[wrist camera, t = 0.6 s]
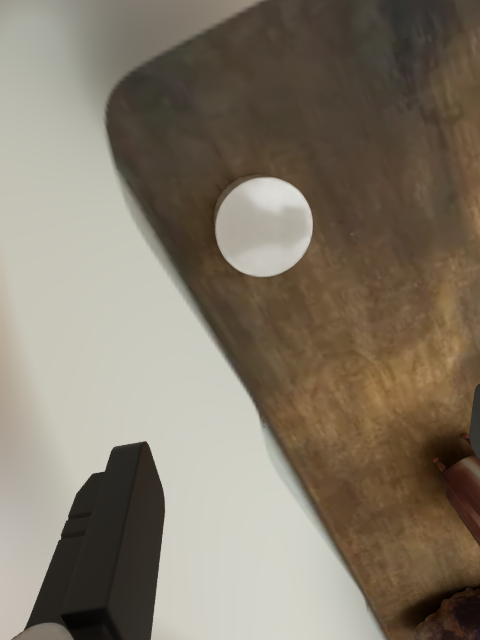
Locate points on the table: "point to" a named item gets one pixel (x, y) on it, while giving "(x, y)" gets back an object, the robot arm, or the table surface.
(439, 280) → the table surface
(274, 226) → the stone
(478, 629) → the rock
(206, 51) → the table surface
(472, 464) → the alarm clock
